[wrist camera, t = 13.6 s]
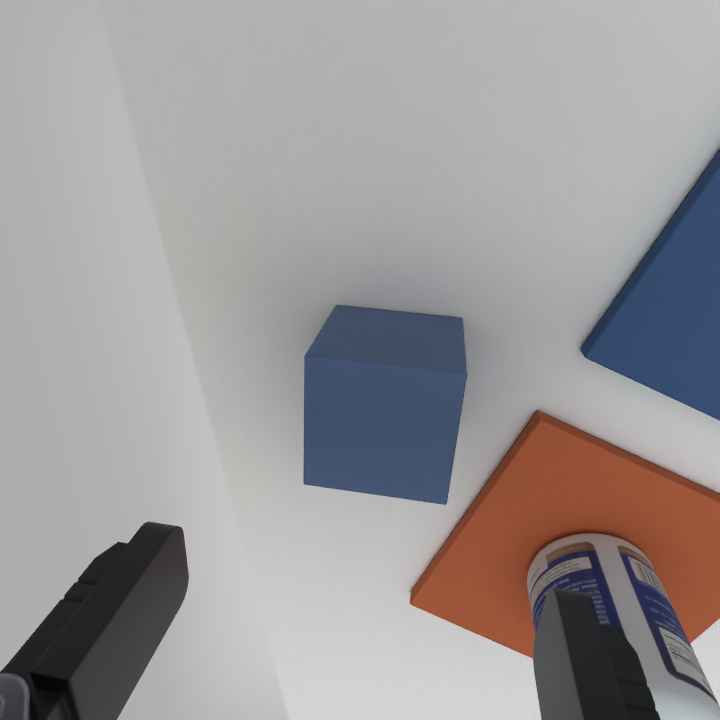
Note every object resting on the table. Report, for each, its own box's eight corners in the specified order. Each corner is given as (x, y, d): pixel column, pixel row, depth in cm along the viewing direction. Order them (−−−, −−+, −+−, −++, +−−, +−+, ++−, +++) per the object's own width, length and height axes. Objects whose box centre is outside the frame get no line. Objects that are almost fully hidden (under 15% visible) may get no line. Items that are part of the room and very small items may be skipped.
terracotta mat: (410, 591, 26) (409, 604, 26) (537, 409, 21) (540, 419, 20) (620, 684, 27) (625, 699, 26) (796, 528, 21) (808, 542, 21)
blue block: (331, 413, 23) (302, 484, 18) (335, 304, 20) (304, 355, 16) (446, 427, 22) (446, 505, 18) (463, 317, 20) (467, 374, 15)
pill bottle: (520, 611, 25) (560, 881, 16) (530, 523, 22) (583, 780, 14) (642, 623, 24) (754, 915, 15) (664, 533, 22) (813, 813, 13)
